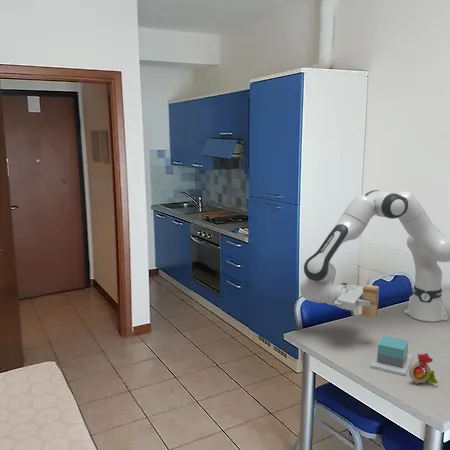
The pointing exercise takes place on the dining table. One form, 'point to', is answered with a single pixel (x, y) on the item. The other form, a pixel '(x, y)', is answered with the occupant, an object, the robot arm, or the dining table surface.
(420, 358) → the bird rattle
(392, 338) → the brick tower
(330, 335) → the dining table surface
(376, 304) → the oak brick
